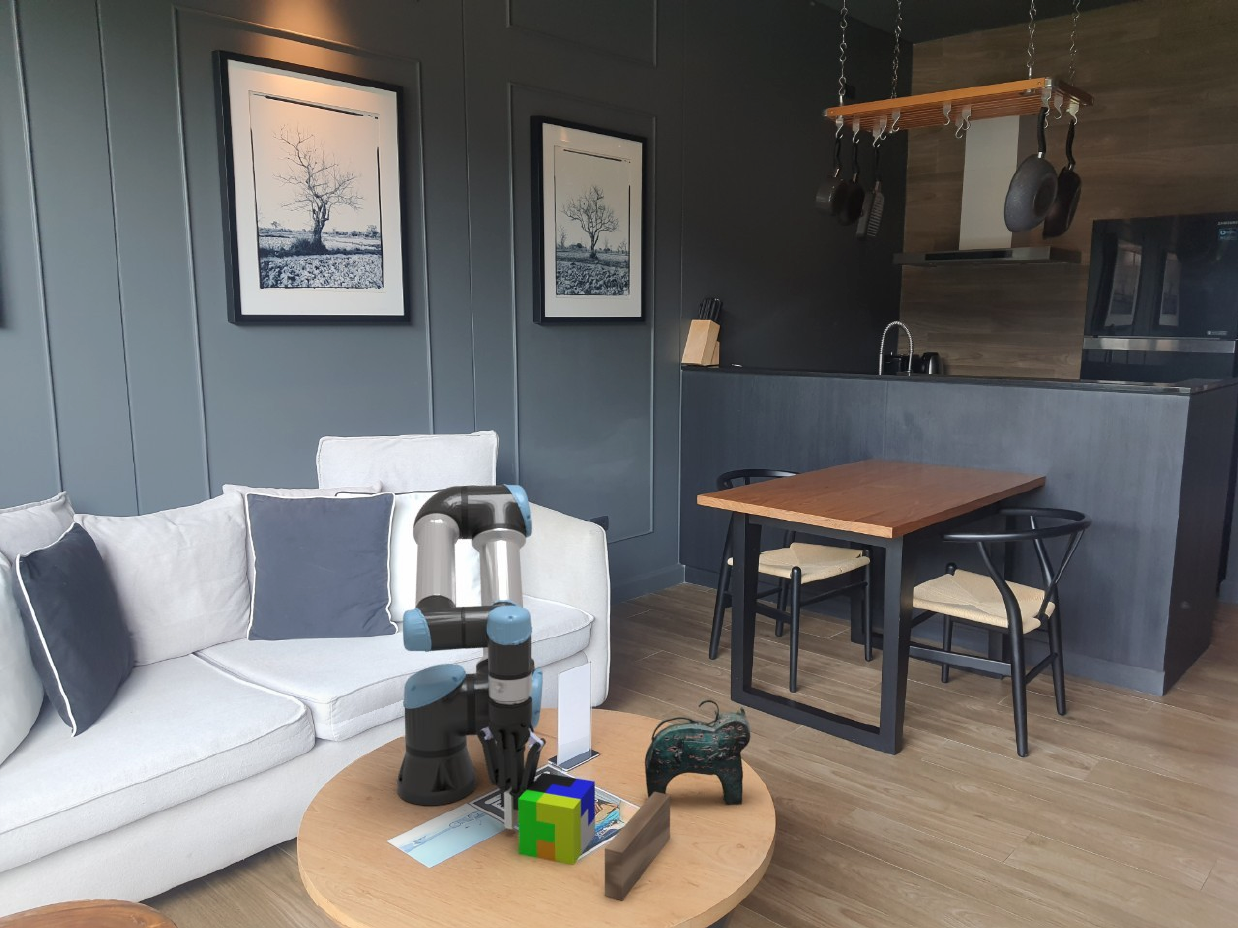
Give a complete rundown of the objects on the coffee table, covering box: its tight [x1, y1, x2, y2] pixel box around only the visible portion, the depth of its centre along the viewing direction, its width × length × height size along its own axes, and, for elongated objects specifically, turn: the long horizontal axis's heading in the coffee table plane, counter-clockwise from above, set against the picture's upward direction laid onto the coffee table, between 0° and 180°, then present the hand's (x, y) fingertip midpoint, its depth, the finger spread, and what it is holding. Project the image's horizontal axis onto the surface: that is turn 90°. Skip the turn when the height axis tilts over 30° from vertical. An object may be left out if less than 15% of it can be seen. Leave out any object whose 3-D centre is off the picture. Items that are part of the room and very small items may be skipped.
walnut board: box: [604, 792, 671, 901], centre depth 152 cm, size 3×20×8 cm, turn 155°
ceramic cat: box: [644, 698, 751, 806], centre depth 172 cm, size 20×6×20 cm, turn 92°
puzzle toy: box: [518, 772, 596, 866], centre depth 159 cm, size 10×10×10 cm
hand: (512, 824), depth 163 cm, fingers closed
